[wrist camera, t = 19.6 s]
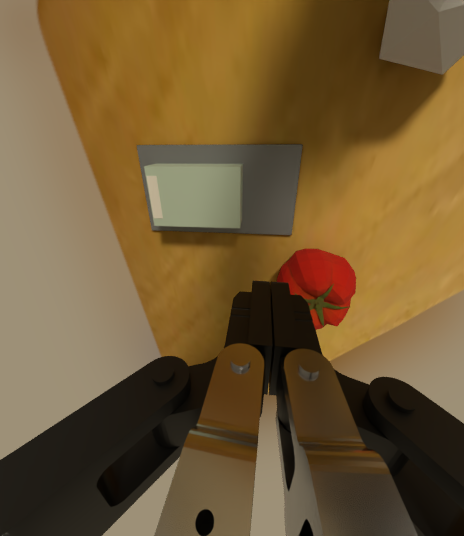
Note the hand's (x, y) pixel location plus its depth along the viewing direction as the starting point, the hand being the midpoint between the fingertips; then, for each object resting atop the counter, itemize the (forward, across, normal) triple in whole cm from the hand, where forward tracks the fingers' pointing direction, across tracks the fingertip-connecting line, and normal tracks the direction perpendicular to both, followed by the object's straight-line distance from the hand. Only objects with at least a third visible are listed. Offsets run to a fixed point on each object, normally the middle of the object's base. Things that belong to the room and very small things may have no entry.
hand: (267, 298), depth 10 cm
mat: (+23, +6, 0) cm, 24 cm away
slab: (+21, +3, 0) cm, 21 cm away
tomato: (+23, -7, +12) cm, 27 cm away
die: (+23, -13, -16) cm, 31 cm away
